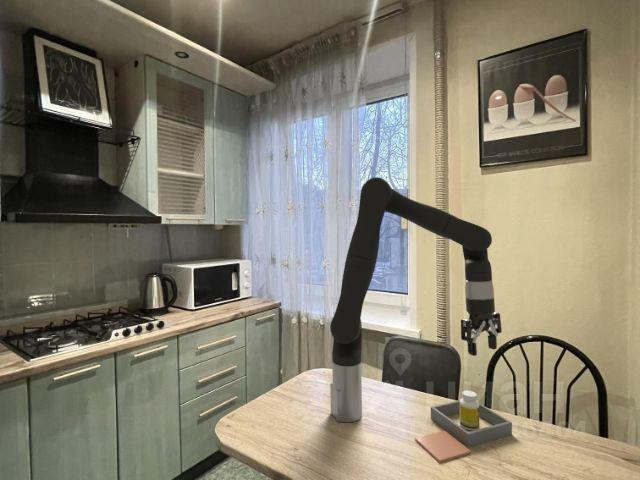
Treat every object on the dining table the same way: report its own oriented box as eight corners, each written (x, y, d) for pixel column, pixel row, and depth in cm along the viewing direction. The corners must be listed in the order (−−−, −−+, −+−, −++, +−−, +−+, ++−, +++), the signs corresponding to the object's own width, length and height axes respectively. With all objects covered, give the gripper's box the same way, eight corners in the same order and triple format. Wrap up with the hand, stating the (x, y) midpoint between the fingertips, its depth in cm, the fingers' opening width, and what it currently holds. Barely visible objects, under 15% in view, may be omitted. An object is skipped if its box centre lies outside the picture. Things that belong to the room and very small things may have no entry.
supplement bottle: (481, 432, 99) (481, 398, 98) (461, 430, 100) (461, 397, 100) (476, 421, 104) (476, 389, 104) (458, 420, 105) (457, 388, 105)
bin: (468, 447, 92) (468, 434, 92) (430, 417, 106) (430, 406, 106) (511, 434, 97) (511, 422, 97) (470, 408, 112) (470, 397, 112)
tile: (439, 462, 86) (439, 460, 86) (415, 440, 95) (415, 438, 95) (471, 453, 89) (471, 451, 89) (444, 432, 99) (444, 430, 99)
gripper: (484, 291, 106) (487, 343, 106) (451, 297, 99) (454, 353, 99) (507, 294, 99) (510, 350, 99) (473, 301, 92) (477, 361, 93)
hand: (482, 351), depth 99 cm, fingers open, 8 cm apart
